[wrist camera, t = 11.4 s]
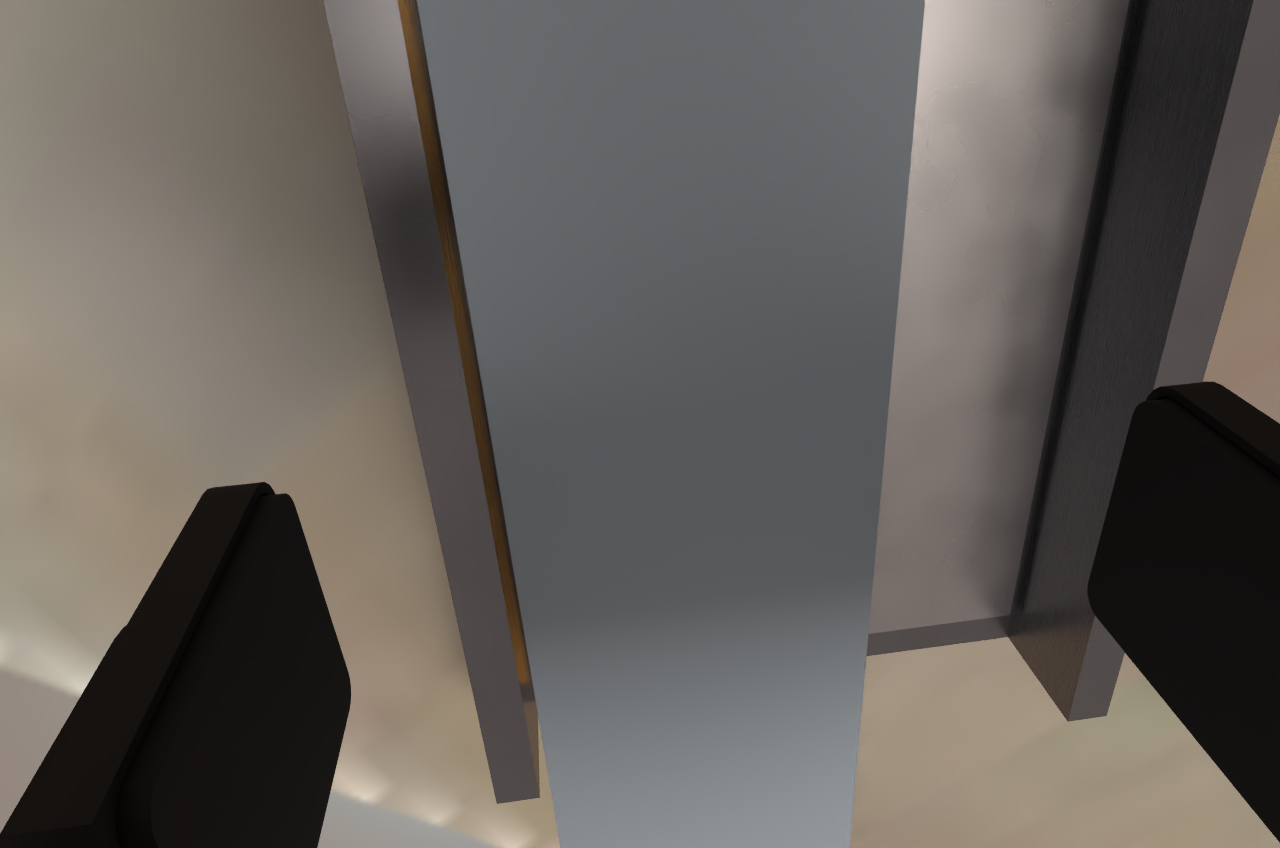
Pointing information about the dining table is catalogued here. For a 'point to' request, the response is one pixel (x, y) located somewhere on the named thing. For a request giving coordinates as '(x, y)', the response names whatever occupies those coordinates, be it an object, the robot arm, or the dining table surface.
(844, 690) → the plate
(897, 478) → the rack
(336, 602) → the dining table surface
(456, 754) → the dining table surface
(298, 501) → the dining table surface
